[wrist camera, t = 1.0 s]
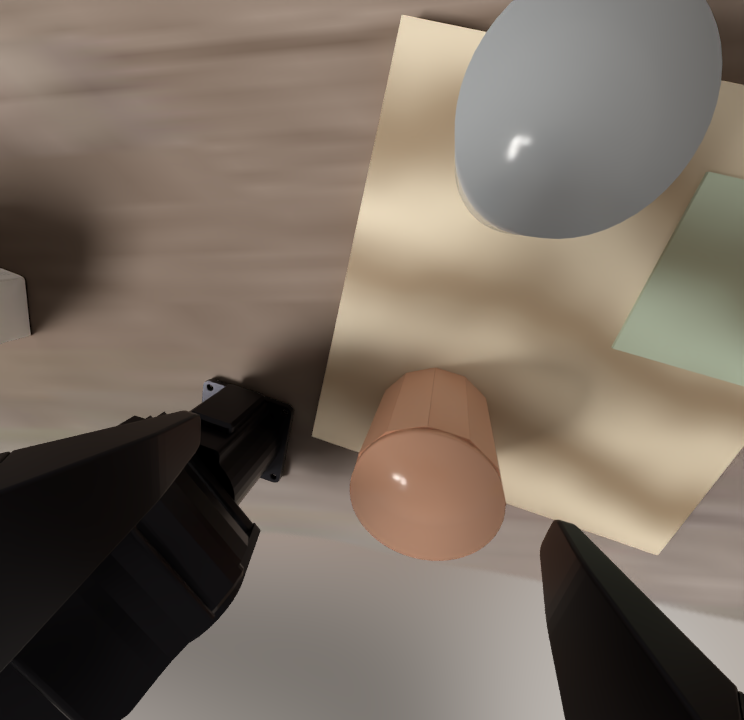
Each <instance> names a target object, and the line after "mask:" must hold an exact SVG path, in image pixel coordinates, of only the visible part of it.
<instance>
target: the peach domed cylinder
mask: <svg viewBox="0 0 744 720" xmlns="http://www.w3.org/2000/svg"><path fill="white" fill-rule="evenodd" d="M350 498H351V502H352V506H353V509H354V511H355V513H356V516H357V517H358V519H359V521H360V522H361V524H362V525H363V526H364V527H365V529H366V530H367V531H368V532H369V533H370V534H371V535H372V536H373V537H374V538H376V539H377V540H378V541H379V542H381V543H382V544H384V545H385V546H387V547H388V548H390V549H392V550H394V551H396V552H399V553H401V554H403V555H406V556H410V557H413V558H417V559H422V560H431V561H443V560H452V559H457V558H461V557H464V556H468V555H470V554H472V553H474V552H476V551H478V550H480V549H481V548H483V547H484V546H485V545H487V544H488V543H489V542H490V541H491V540H492V539H493V538H494V537H495V535H496V534H497V532H498V531H499V529H500V527H501V525H502V522H503V519H504V515H505V506H506V500H505V494H504V489H503V484H502V478H501V473H500V468H499V463H498V457H497V452H496V447H495V441H494V436H493V431H492V425H491V420H490V415H489V410H488V405H487V400H486V397H485V396H484V395H483V394H482V393H481V392H480V391H479V390H478V389H477V388H476V387H475V386H474V385H473V384H472V383H471V382H470V381H469V380H468V379H467V378H466V377H465V376H462V375H459V374H455V373H452V372H449V371H446V370H442V369H439V368H429V369H424V370H419V371H413V372H408V373H405V374H404V375H403V376H402V377H401V378H399V379H398V380H397V381H396V382H395V383H394V384H392V385H391V386H390V387H389V388H388V389H386V390H385V393H384V395H383V397H382V400H381V402H380V404H379V407H378V409H377V412H376V414H375V416H374V419H373V421H372V423H371V426H370V428H369V431H368V433H367V435H366V438H365V440H364V442H363V445H362V447H361V449H360V452H359V455H358V458H357V462H356V465H355V468H354V471H353V473H352V476H351V481H350Z"/></svg>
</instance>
